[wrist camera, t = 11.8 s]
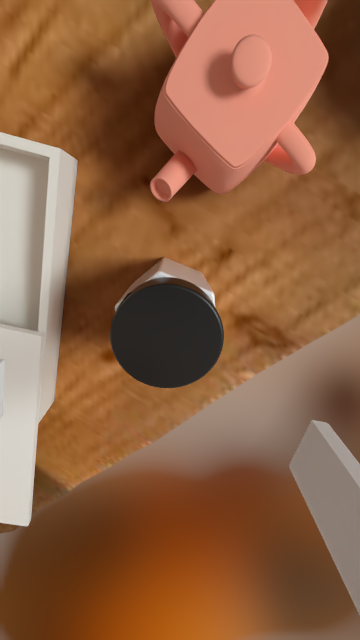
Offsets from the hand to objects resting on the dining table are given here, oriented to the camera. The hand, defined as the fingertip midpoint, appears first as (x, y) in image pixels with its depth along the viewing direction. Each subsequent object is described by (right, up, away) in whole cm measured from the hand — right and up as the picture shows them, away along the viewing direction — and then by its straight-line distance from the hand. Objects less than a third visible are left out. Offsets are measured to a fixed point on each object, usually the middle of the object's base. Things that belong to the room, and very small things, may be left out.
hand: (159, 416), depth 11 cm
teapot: (+5, +22, +13) cm, 26 cm away
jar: (0, +7, +18) cm, 20 cm away
